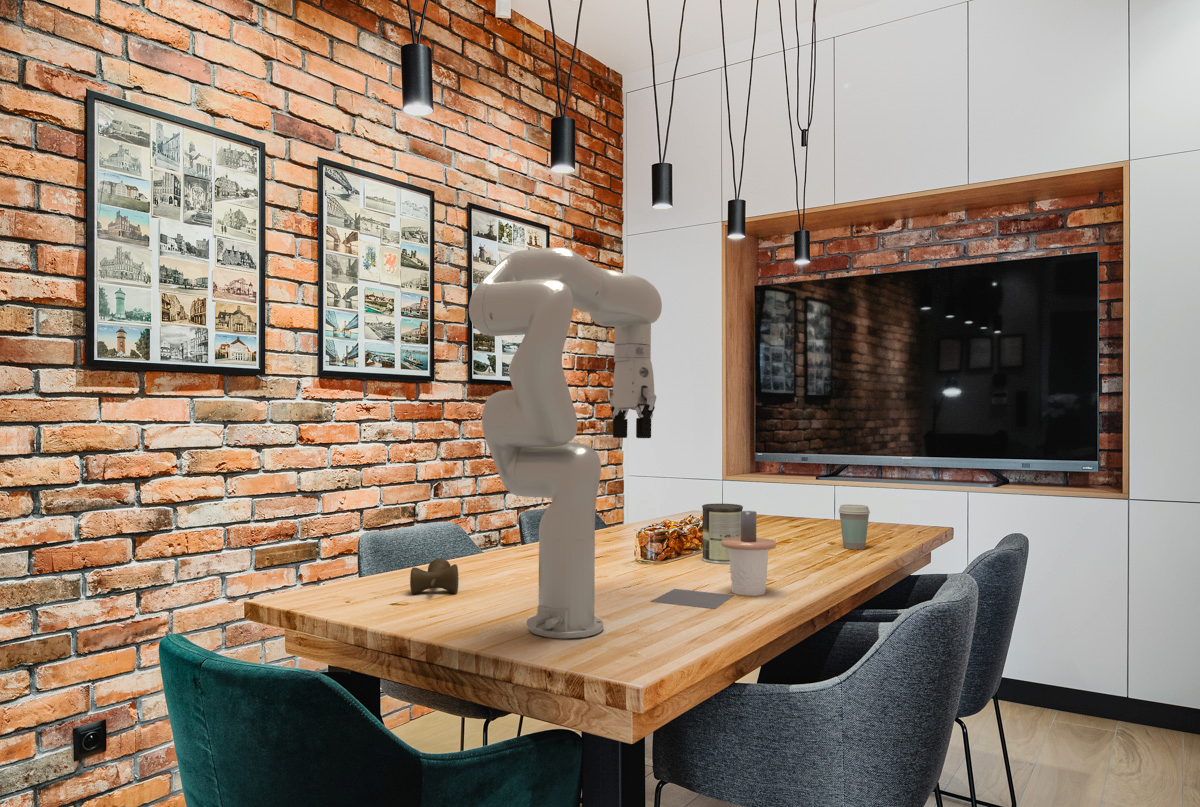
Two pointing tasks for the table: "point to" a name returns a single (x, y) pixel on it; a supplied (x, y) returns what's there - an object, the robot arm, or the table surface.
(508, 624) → the table surface
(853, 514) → the coffee cup
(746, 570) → the white cup
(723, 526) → the coffee can
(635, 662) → the table surface
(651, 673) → the table surface
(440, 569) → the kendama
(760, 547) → the lid
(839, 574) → the table surface
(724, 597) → the mat
